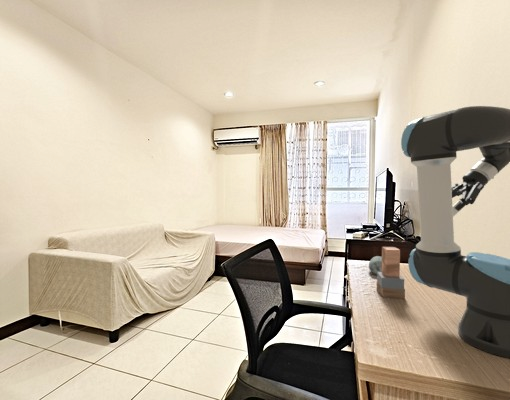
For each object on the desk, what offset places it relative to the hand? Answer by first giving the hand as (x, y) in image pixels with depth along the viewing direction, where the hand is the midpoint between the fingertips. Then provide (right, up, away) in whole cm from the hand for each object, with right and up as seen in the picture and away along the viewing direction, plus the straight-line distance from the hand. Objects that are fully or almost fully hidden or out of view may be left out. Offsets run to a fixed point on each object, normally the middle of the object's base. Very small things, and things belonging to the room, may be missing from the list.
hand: (437, 214), depth 104 cm
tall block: (-19, -25, 0) cm, 31 cm away
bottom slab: (-19, -33, 0) cm, 38 cm away
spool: (-10, -32, +29) cm, 44 cm away
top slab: (-19, -29, 0) cm, 35 cm away
